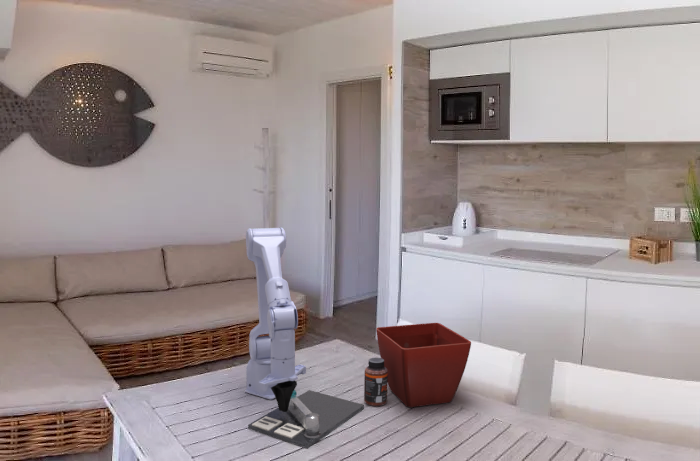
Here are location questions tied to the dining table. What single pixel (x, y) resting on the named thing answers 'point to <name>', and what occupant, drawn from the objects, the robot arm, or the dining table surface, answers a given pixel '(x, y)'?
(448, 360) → the plant pot
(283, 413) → the tray
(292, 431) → the label
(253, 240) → the robot arm
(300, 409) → the bar
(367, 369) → the supplement bottle
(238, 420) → the dining table surface
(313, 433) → the grey rounded cylinder
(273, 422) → the label
